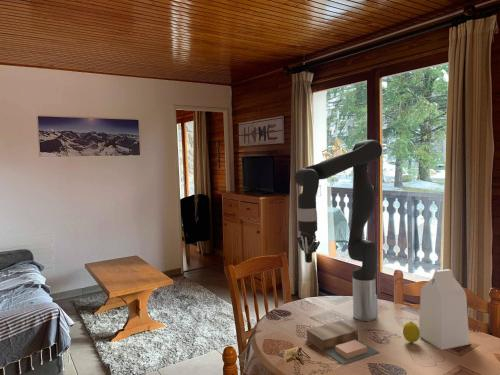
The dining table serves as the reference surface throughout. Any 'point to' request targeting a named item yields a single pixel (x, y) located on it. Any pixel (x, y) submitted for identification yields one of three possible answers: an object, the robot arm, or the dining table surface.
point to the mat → (344, 361)
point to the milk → (443, 311)
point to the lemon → (411, 332)
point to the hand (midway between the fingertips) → (308, 262)
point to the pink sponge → (351, 349)
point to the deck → (331, 335)
